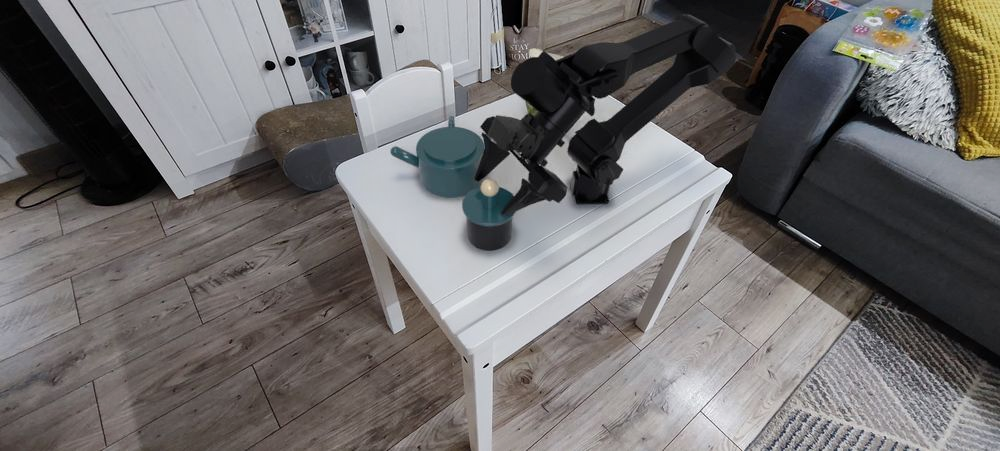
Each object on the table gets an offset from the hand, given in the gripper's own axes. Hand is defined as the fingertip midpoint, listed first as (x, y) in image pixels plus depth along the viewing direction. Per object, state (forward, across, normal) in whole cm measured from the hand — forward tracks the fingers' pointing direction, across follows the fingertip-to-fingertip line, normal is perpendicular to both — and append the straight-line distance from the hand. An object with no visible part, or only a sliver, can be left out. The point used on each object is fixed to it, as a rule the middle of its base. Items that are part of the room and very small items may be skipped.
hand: (489, 197), depth 75 cm
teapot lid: (+2, 0, +2) cm, 2 cm away
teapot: (+7, -20, +6) cm, 22 cm away
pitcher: (-14, -24, +27) cm, 38 cm away
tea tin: (+6, 0, +7) cm, 9 cm away
